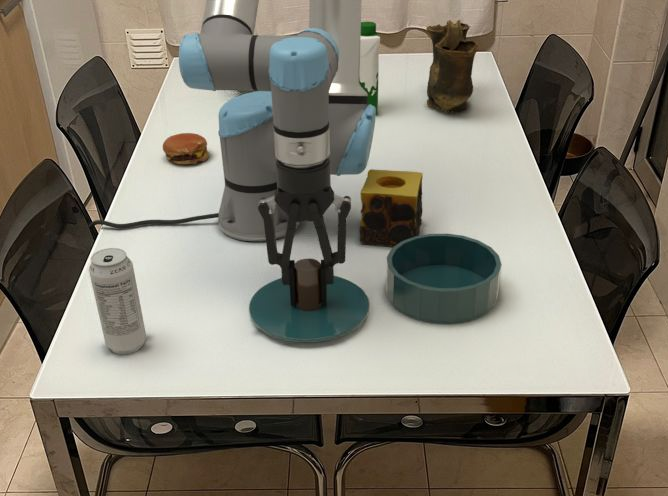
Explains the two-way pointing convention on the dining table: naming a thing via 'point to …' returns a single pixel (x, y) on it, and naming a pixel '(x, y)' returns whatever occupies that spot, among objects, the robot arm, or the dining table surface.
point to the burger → (186, 148)
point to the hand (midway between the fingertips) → (308, 300)
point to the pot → (443, 278)
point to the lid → (309, 306)
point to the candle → (390, 207)
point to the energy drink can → (117, 300)
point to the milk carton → (369, 62)
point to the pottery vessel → (451, 67)
